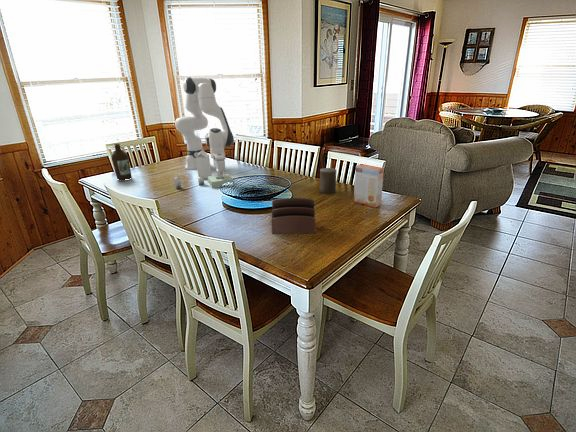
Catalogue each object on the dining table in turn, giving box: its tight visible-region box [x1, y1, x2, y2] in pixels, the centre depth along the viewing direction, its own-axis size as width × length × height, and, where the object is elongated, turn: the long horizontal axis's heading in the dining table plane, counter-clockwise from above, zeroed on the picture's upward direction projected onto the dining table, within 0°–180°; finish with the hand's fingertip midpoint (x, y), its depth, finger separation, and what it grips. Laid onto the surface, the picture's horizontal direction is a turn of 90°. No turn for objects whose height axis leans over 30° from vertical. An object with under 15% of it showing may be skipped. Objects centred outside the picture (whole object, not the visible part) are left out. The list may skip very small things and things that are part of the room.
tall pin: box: [215, 168, 223, 179], centre depth 224 cm, size 4×4×10 cm
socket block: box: [207, 173, 234, 189], centre depth 225 cm, size 14×14×4 cm
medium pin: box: [173, 176, 182, 190], centre depth 218 cm, size 4×4×7 cm
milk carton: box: [196, 148, 212, 179], centre depth 237 cm, size 7×7×19 cm
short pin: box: [197, 177, 205, 187], centre depth 224 cm, size 4×4×5 cm
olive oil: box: [111, 142, 133, 180], centre depth 235 cm, size 11×11×25 cm
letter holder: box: [270, 197, 316, 235], centre depth 156 cm, size 10×20×14 cm, turn 89°
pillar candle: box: [319, 167, 337, 195], centre depth 204 cm, size 10×10×15 cm
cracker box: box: [353, 163, 385, 209], centre depth 183 cm, size 14×6×21 cm, turn 45°
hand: (219, 175), depth 224 cm, fingers open, 8 cm apart
